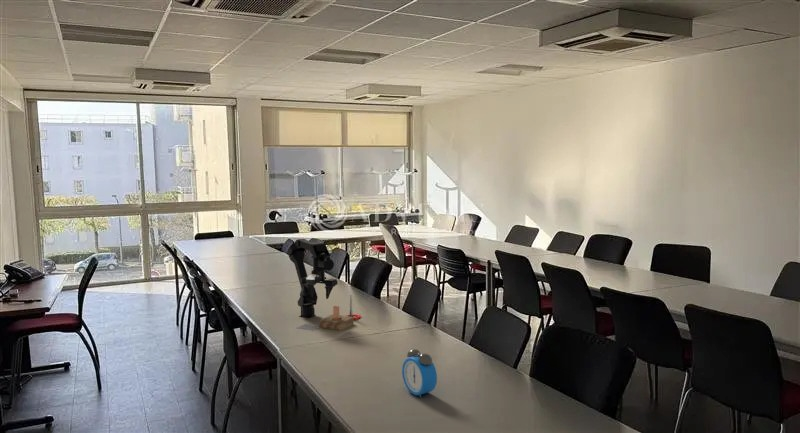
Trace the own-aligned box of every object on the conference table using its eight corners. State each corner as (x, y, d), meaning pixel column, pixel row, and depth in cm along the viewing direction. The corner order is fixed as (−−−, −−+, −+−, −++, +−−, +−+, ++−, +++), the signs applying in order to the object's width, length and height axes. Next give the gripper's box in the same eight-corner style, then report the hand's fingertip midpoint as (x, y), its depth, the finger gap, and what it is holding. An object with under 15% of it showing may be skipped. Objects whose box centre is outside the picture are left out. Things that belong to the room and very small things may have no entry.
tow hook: (347, 316, 306) (342, 320, 297) (346, 292, 305) (342, 295, 296) (362, 316, 305) (358, 320, 296) (362, 292, 304) (358, 295, 295)
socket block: (319, 328, 282) (319, 320, 282) (333, 322, 293) (333, 314, 293) (340, 331, 277) (340, 323, 277) (353, 324, 288) (353, 316, 287)
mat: (295, 328, 281) (295, 328, 281) (305, 324, 289) (305, 324, 289) (312, 331, 277) (312, 330, 277) (322, 327, 284) (322, 326, 284)
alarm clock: (401, 389, 206) (401, 348, 204) (415, 385, 209) (415, 345, 208) (423, 401, 195) (423, 358, 194) (438, 397, 199) (438, 354, 197)
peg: (332, 326, 284) (332, 307, 283) (335, 325, 287) (335, 305, 286) (337, 327, 283) (337, 307, 282) (340, 326, 286) (340, 306, 285)
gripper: (294, 269, 287) (294, 299, 289) (325, 271, 279) (326, 303, 281) (307, 265, 297) (307, 295, 299) (337, 268, 289) (338, 298, 291)
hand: (319, 298), depth 292 cm, fingers open, 9 cm apart
